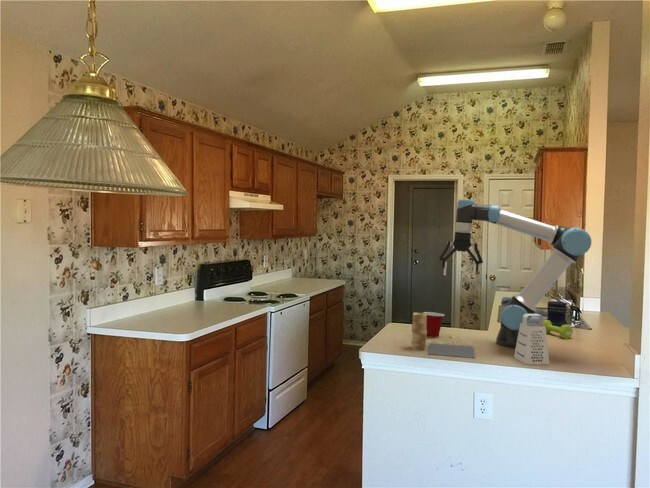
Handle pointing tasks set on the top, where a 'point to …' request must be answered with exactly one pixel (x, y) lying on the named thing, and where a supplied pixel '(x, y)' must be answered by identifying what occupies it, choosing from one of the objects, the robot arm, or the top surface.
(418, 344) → the oak block
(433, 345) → the mat
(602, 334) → the top surface
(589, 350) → the top surface
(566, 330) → the dumbbell
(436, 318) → the plastic cup
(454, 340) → the top surface
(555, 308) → the storage jar
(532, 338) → the grater
